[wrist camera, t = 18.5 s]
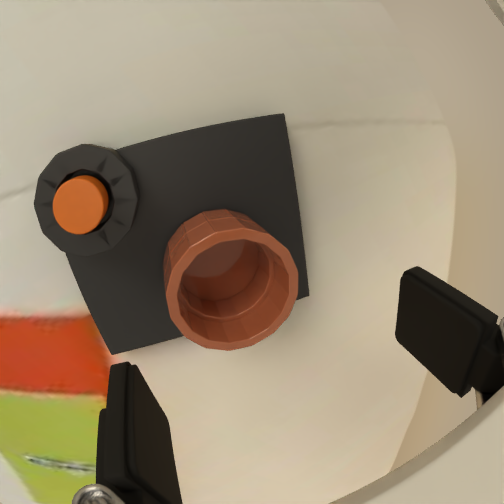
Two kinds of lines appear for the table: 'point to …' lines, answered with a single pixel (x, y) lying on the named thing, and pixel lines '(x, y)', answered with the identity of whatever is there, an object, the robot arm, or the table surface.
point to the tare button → (80, 204)
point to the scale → (168, 214)
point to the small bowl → (227, 280)
